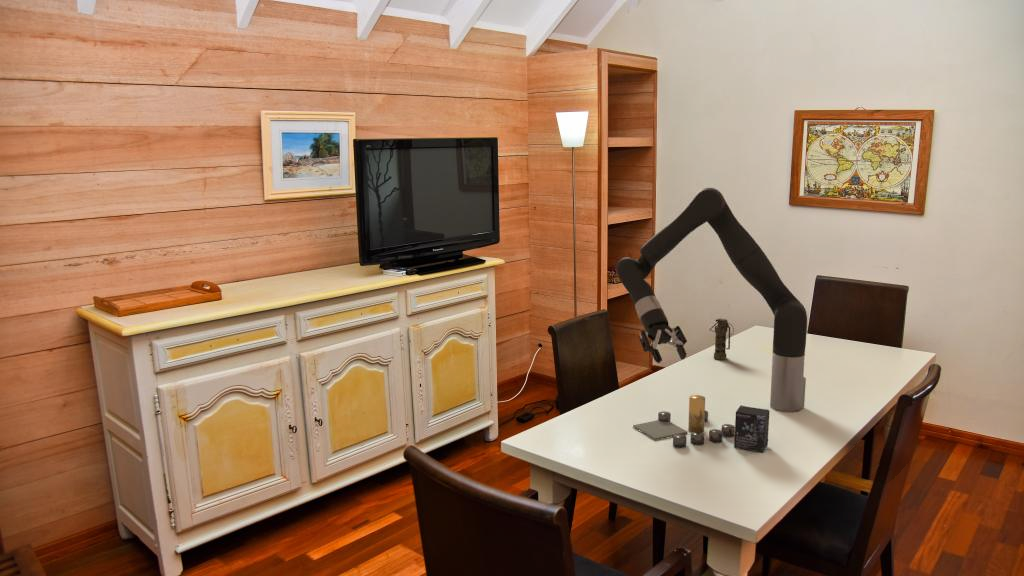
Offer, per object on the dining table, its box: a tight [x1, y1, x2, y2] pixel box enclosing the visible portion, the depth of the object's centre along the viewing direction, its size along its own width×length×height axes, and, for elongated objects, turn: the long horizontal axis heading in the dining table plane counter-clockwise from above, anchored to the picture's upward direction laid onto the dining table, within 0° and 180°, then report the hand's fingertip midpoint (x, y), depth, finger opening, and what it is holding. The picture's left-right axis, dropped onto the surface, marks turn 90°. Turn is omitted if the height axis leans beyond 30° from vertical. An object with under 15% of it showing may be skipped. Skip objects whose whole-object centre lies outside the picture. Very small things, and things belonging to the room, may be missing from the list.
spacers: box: [657, 410, 735, 449], centre depth 223 cm, size 21×22×2 cm
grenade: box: [709, 318, 735, 361], centre depth 288 cm, size 9×6×15 cm, turn 50°
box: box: [733, 405, 771, 454], centre depth 210 cm, size 8×6×11 cm
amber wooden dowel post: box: [687, 394, 706, 433], centre depth 222 cm, size 4×4×10 cm
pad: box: [632, 419, 688, 441], centre depth 224 cm, size 11×11×1 cm
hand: (672, 359), depth 230 cm, fingers open, 8 cm apart
